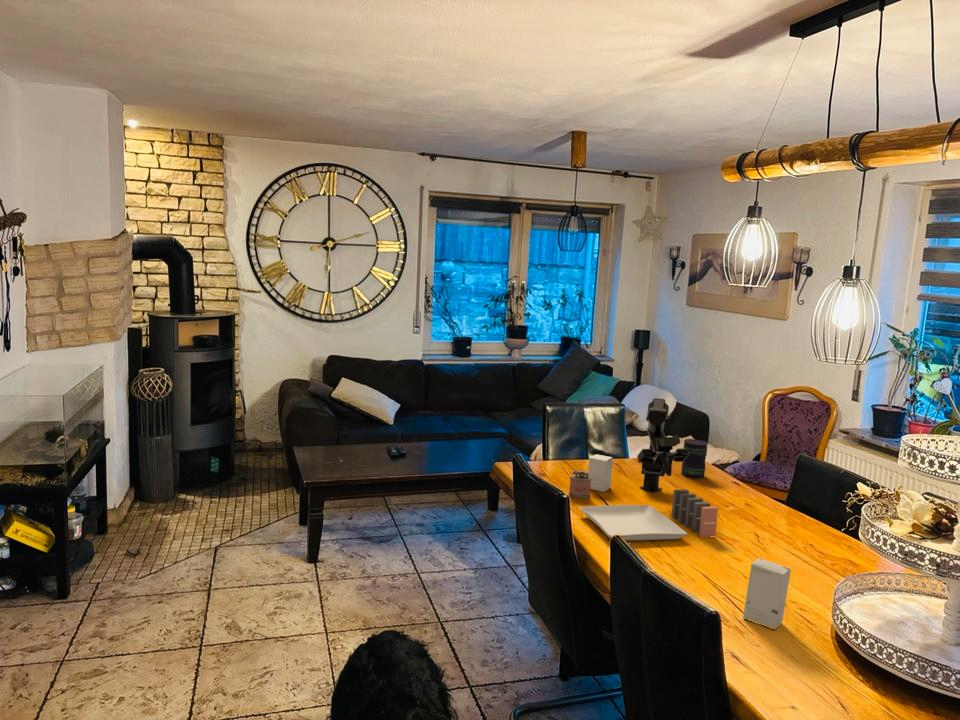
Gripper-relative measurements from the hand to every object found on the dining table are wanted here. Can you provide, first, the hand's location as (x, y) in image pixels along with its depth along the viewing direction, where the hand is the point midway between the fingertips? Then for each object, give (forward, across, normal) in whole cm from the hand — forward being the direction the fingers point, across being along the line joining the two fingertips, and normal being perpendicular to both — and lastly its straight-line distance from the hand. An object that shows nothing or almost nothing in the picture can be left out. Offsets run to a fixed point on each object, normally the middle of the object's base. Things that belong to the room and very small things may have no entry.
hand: (669, 475), depth 256 cm
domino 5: (+28, 0, -10) cm, 30 cm away
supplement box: (-9, -16, +27) cm, 33 cm away
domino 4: (+25, 0, -7) cm, 25 cm away
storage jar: (-19, +34, +37) cm, 54 cm away
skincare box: (+66, -18, -48) cm, 84 cm away
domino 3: (+21, 0, -4) cm, 22 cm away
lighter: (-2, -28, +21) cm, 35 cm away
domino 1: (+15, 0, +3) cm, 15 cm away
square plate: (+21, -22, -2) cm, 31 cm away
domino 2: (+18, 0, 0) cm, 18 cm away
